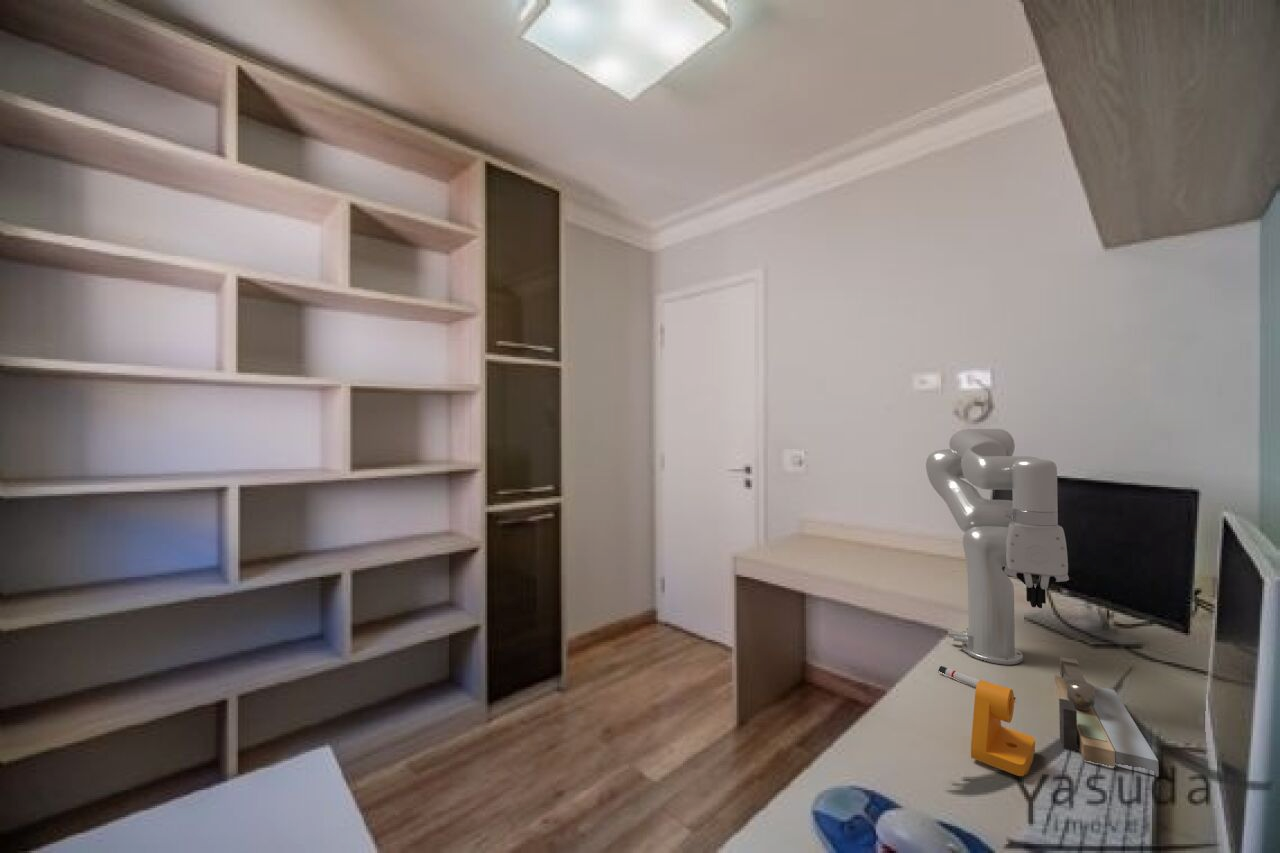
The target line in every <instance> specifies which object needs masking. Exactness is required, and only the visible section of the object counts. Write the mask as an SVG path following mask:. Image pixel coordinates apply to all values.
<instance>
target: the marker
mask: <svg viewBox="0 0 1280 853" xmlns="http://www.w3.org/2000/svg"><path fill="white" fill-rule="evenodd" d="M939 671H940V672H942V673H944V674H946V675H948V676H951V677H953V678H955V679H957V680H959V681H961V682H963V683H966V684H967V685H966V684H965V685H966V686H968V685H970V686H969V687H971V686H972V687H971V688H973V687H974V688H973V689H976V686H977V683H978V681H979V680H980V679H978V678H975V677H972V676H970V675H966V674H964V673H961V672H959V671H956V670H954V669H951V668H948V667H945V666H943V665H939V668H938V672H939ZM961 682H960V683H961ZM963 683H962V684H963ZM1016 699H1017V698H1016V697H1015V696H1014V701H1015V700H1016Z"/></svg>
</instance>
